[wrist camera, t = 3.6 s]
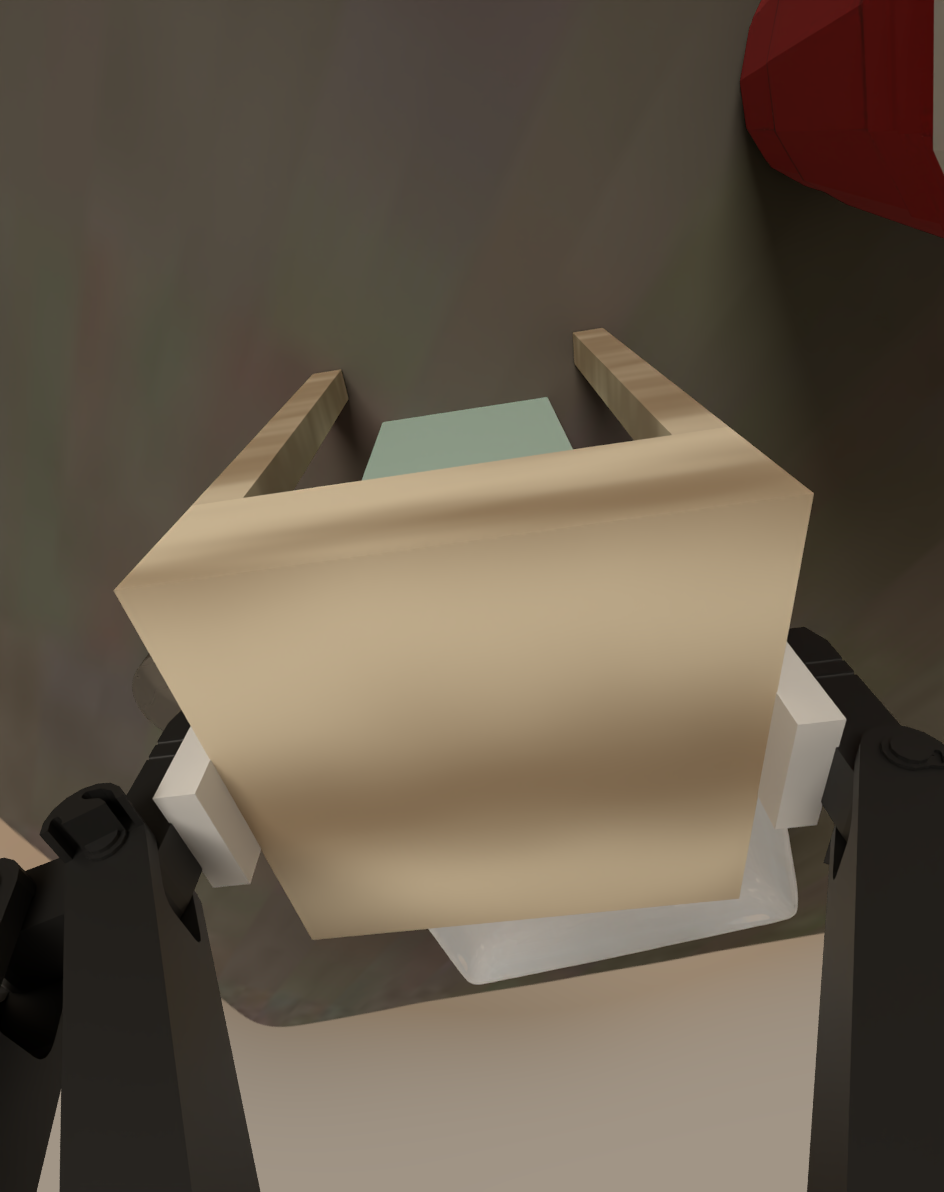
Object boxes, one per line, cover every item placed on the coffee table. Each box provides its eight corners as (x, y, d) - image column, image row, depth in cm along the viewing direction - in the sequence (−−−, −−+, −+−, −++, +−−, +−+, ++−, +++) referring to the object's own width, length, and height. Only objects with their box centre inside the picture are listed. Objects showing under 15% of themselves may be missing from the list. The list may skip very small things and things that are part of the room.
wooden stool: (313, 373, 20) (113, 590, 9) (602, 327, 20) (813, 493, 8) (379, 609, 26) (312, 939, 14) (608, 579, 25) (738, 898, 13)
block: (382, 422, 21) (341, 535, 14) (547, 397, 21) (597, 499, 13) (415, 563, 25) (396, 718, 17) (558, 544, 24) (603, 692, 17)
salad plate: (742, 619, 27) (776, 668, 24) (778, 871, 38) (804, 925, 35) (328, 738, 31) (315, 793, 28) (470, 936, 42) (471, 989, 39)
